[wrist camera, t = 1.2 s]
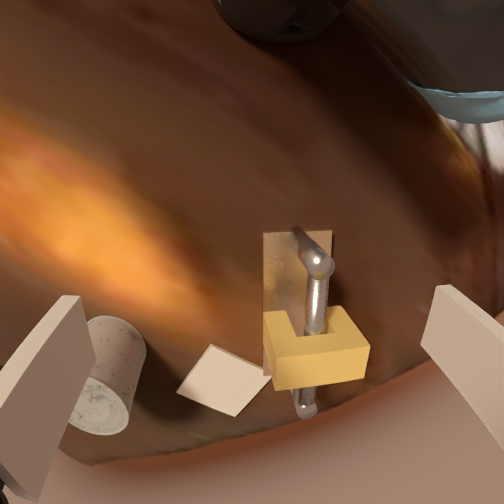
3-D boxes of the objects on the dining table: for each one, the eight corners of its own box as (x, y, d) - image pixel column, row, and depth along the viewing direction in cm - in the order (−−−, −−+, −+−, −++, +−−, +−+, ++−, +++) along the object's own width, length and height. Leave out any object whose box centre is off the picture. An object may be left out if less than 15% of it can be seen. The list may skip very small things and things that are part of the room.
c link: (262, 342, 36) (275, 390, 28) (263, 312, 35) (276, 357, 27) (337, 334, 37) (363, 378, 29) (340, 305, 36) (370, 345, 28)
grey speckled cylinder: (155, 369, 41) (142, 434, 30) (97, 375, 41) (72, 434, 29) (133, 310, 38) (106, 370, 27) (71, 320, 38) (33, 374, 26)
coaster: (211, 343, 41) (211, 345, 40) (272, 372, 43) (273, 375, 43) (176, 389, 43) (176, 392, 42) (234, 414, 45) (235, 416, 45)
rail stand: (261, 228, 37) (277, 256, 27) (329, 226, 38) (364, 252, 28) (262, 371, 43) (273, 423, 34) (317, 366, 44) (338, 413, 34)
